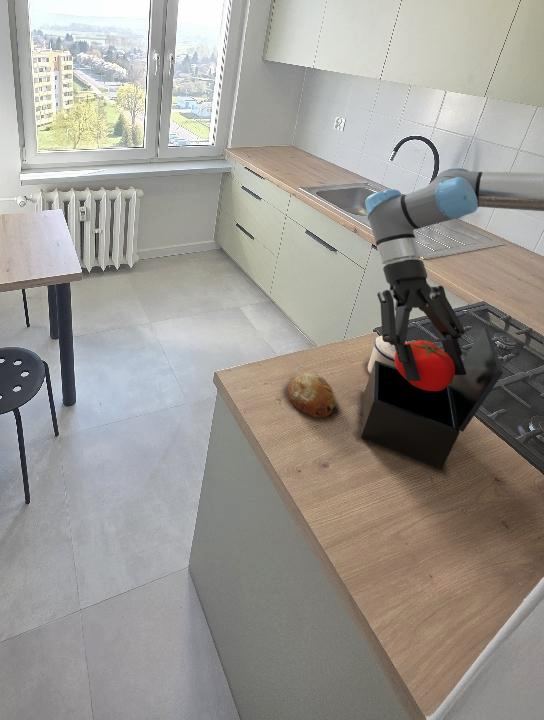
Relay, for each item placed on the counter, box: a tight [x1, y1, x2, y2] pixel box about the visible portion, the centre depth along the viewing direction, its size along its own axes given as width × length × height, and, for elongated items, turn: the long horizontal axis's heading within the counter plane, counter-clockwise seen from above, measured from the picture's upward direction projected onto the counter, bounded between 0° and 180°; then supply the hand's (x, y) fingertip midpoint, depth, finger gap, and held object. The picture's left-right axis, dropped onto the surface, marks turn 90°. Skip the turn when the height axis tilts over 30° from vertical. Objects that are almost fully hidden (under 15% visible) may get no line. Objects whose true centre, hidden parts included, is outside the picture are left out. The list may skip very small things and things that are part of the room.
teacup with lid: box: [367, 335, 409, 374], centre depth 103 cm, size 12×9×12 cm
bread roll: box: [287, 372, 338, 418], centre depth 95 cm, size 10×10×8 cm
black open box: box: [360, 360, 461, 471], centre depth 87 cm, size 15×13×11 cm
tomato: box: [395, 339, 455, 391], centre depth 82 cm, size 9×10×8 cm
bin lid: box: [449, 326, 504, 432], centre depth 79 cm, size 16×13×1 cm
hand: (436, 377), depth 79 cm, fingers closed on tomato, 9 cm apart
